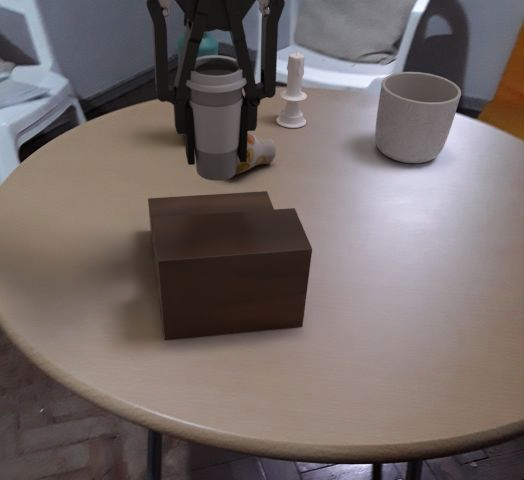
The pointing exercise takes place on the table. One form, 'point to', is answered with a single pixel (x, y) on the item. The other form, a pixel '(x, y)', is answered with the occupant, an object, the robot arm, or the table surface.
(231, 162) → the cup
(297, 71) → the candle
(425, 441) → the table surface
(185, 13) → the robot arm
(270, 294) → the step shelf
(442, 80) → the planter
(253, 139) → the floral vase
